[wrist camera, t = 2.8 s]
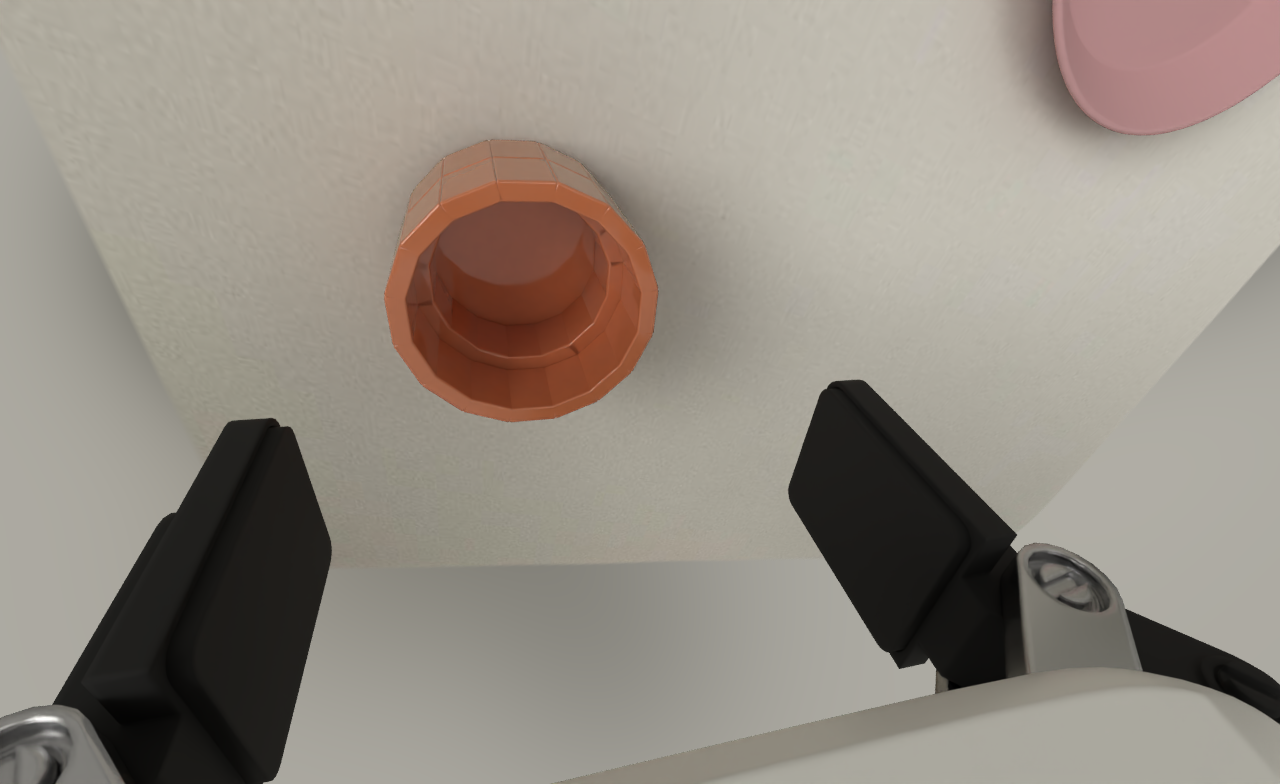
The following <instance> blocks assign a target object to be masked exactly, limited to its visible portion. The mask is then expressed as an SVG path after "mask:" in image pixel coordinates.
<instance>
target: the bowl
mask: <svg viewBox="0 0 1280 784" xmlns="http://www.w3.org/2000/svg"><path fill="white" fill-rule="evenodd" d="M384 295H385V296H384V301H385V306H386V311H387V317H388V322H389V327H390V333H391V338H392V343H393V345H394V348H395V349H396V351H397V352H398V353H399V355H400V356H401V357H402V359H403V360H404V362H405V363H406V364H407V366H408V367H409V369H410V370H411V371H412V373H413V374H414V375H415V377H416V378H417V380H418V381H419V382H420V384H421V385H423V387H425V388H426V389H428V390H429V391H431V392H433V393H434V394H436V395H437V396H439V397H441V398H442V399H444V400H445V401H447V402H448V403H450V404H452V405H453V406H455V407H456V408H458V409H460V410H461V411H464V412H467V413H471V414H475V415H480V416H484V417H488V418H493V419H497V420H501V421H506V422H509V421H510V422H519V421H531V420H543V419H554V418H555V417H556V418H558V417H561V416H563V415H566V414H568V413H570V412H573V411H575V410H578V409H580V408H583V407H585V406H587V405H590V404H592V403H595V402H597V400H600V399H601V398H602V397H603V396H605V395H606V394H607V393H608V392H609V391H610V390H612V389H613V388H614V387H615V386H616V385H617V384H619V383H620V382H621V381H622V380H623V379H624V378H626V377H627V376H628V375H629V374H630V373H631V371H633V369H634V367H635V366H636V364H637V362H638V360H639V358H640V357H641V355H642V353H643V351H644V349H645V348H646V346H647V344H648V342H649V341H650V339H651V337H652V333H653V332H654V324H655V315H656V307H657V298H658V285H657V282H656V279H655V276H654V272H653V269H652V266H651V263H650V259H649V256H648V253H647V250H646V247H645V245H644V243H643V241H642V240H641V238H640V237H639V236H638V234H637V233H636V231H635V230H634V229H633V227H632V226H631V225H630V223H629V222H628V220H627V219H626V218H625V216H624V215H623V213H622V212H621V211H620V209H619V208H618V207H617V205H616V204H615V202H614V201H613V200H612V198H611V197H610V195H609V194H608V193H607V192H606V191H605V189H604V188H603V187H602V186H601V185H600V184H599V183H598V182H597V180H596V179H595V178H594V177H593V176H592V175H591V174H590V172H589V171H588V170H587V169H586V168H585V167H584V166H583V164H581V163H579V162H578V161H577V160H575V159H573V158H571V157H569V156H567V155H564V154H562V153H560V152H558V151H556V150H554V149H552V148H550V147H548V146H546V145H544V144H542V143H538V144H537V142H535V141H513V140H490V141H488V140H486V141H483V142H481V143H478V144H476V145H473V146H471V147H468V148H466V149H463V150H460V151H458V152H455V153H453V154H450V155H448V156H446V157H445V159H442V160H441V161H440V162H439V163H438V164H437V165H436V166H435V167H434V168H433V169H432V170H431V171H430V172H429V174H428V175H427V176H426V177H425V178H424V179H423V180H422V181H421V182H420V183H419V184H418V185H417V187H416V188H415V189H414V190H413V193H412V194H411V196H410V199H409V202H408V206H407V209H406V212H405V216H404V219H403V223H402V226H401V229H400V233H399V237H398V241H397V245H396V249H395V253H394V257H393V261H392V265H391V268H390V272H389V276H388V280H387V284H386V288H385V292H384Z"/></svg>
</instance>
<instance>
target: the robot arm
mask: <svg viewBox="0 0 1280 784" xmlns="http://www.w3.org/2000/svg"><path fill="white" fill-rule="evenodd" d="M788 494H789V499H790V502H791V504H792V506H793V508H794V509H795V511H796V512H797V514H798V516H799V517H800V519H801V521H802V522H803V524H804V525H805V527H806V529H807V530H808V532H809V534H810V535H811V537H812V538H813V540H814V542H815V543H816V545H817V547H818V548H819V550H820V552H821V553H822V555H823V556H824V558H825V560H826V561H827V563H828V564H829V566H830V568H831V569H832V571H833V573H834V574H835V576H836V578H837V579H838V581H839V582H840V584H841V586H842V587H843V589H844V591H845V592H846V594H847V595H848V597H849V599H850V600H851V602H852V604H853V605H854V607H855V608H856V610H857V612H858V613H859V615H860V617H861V618H862V620H863V621H864V623H865V625H866V626H867V628H868V629H869V631H870V633H871V634H872V636H873V638H874V639H875V641H876V643H877V644H878V645H879V646H880V648H881V649H882V650H884V651H886V652H889V653H890V655H891V656H892V658H893V659H894V661H895V663H896V664H897V666H898V668H899V669H901V668H905V667H910V666H915V665H919V664H924V663H925V662H926V661H927V660H928V658H929V659H930V660H931V662H932V663H933V665H934V666H935V668H936V688H935V694H933V695H928V696H924V697H920V698H915V699H911V700H907V701H903V702H898V703H893V704H889V705H885V706H881V707H876V708H872V709H868V710H863V711H859V712H854V713H850V714H845V715H841V716H837V717H832V718H828V719H824V720H819V721H815V722H811V723H807V724H802V725H798V726H793V727H789V728H785V729H781V730H776V731H772V732H768V733H764V734H759V735H755V736H751V737H747V738H742V739H738V740H734V741H729V742H725V743H721V744H717V745H713V746H709V747H704V748H700V749H696V750H692V751H687V752H683V753H679V754H674V755H670V756H666V757H662V758H657V759H653V760H650V761H645V762H641V763H636V764H632V765H628V766H623V767H619V768H615V769H611V770H606V771H602V772H599V773H594V774H590V775H586V776H581V777H577V778H573V779H570V780H565V781H561V782H557V783H552V784H1280V685H1279V684H1278V683H1277V682H1276V681H1275V680H1274V679H1273V678H1271V677H1270V676H1269V675H1267V674H1266V673H1264V672H1263V671H1261V670H1259V669H1258V668H1256V667H1254V666H1252V665H1251V664H1249V663H1247V662H1245V661H1243V660H1241V659H1239V658H1237V657H1235V656H1233V655H1231V654H1229V653H1227V652H1224V651H1222V650H1220V649H1217V648H1215V647H1213V646H1210V645H1208V644H1206V643H1203V642H1201V641H1199V640H1196V639H1194V638H1192V637H1190V636H1187V635H1185V634H1183V633H1180V632H1178V631H1176V630H1173V629H1171V628H1169V627H1166V626H1164V625H1162V624H1159V623H1157V622H1155V621H1152V620H1150V619H1148V618H1145V617H1143V616H1141V615H1139V614H1136V613H1134V612H1132V611H1129V610H1127V609H1125V607H1124V604H1123V600H1122V598H1121V596H1120V594H1119V592H1118V590H1117V588H1116V587H1115V586H1114V584H1113V583H1112V582H1111V581H1110V580H1109V578H1108V577H1107V576H1106V575H1105V574H1104V573H1102V572H1101V571H1100V570H1099V569H1098V568H1097V567H1095V566H1094V565H1093V564H1092V563H1090V562H1088V561H1087V560H1085V559H1084V558H1082V557H1080V556H1079V555H1077V554H1075V553H1073V552H1070V551H1068V550H1066V549H1064V548H1061V547H1057V546H1053V545H1050V544H1043V543H1033V544H1029V545H1025V546H1024V547H1023V548H1022V549H1021V550H1020V551H1019V552H1018V553H1016V551H1015V550H1014V549H1013V548H1012V547H1011V546H1010V544H1011V543H1012V541H1013V540H1014V539H1015V537H1016V536H1017V534H1016V533H1015V532H1014V531H1013V530H1012V529H1011V528H1010V527H1009V526H1008V525H1007V524H1006V523H1005V522H1004V521H1003V520H1002V519H1001V518H1000V517H999V516H998V515H997V514H996V513H995V512H994V511H993V510H992V509H991V508H990V507H989V506H988V505H987V504H986V503H985V502H984V501H983V500H982V499H981V498H980V497H979V496H978V495H977V494H976V493H975V492H974V491H973V490H972V489H971V488H970V487H969V486H968V485H967V484H966V483H965V482H964V481H963V480H962V479H961V478H960V477H959V476H958V475H957V474H956V473H955V472H954V471H953V470H952V469H951V468H950V467H949V466H948V464H947V463H946V462H945V461H944V460H943V459H942V458H941V457H940V456H939V455H938V454H937V453H936V452H935V451H934V450H933V449H932V448H931V447H930V446H929V445H928V444H927V443H926V442H925V441H924V440H923V439H922V438H921V437H920V436H919V435H918V434H917V433H916V432H915V431H914V430H913V429H912V428H911V427H910V426H909V425H908V424H907V423H906V422H905V421H904V420H903V419H902V418H901V417H900V416H899V415H898V414H897V413H896V412H895V411H894V410H893V409H892V408H891V407H890V406H889V405H888V404H887V403H886V402H885V401H884V400H883V399H882V398H881V397H880V396H879V395H878V394H877V393H876V392H875V391H874V390H873V389H872V388H871V387H870V386H869V385H868V384H867V383H866V382H864V381H863V380H846V381H835V382H832V383H831V384H830V385H829V386H828V387H827V389H825V390H823V391H822V392H821V394H820V396H819V399H818V402H817V405H816V408H815V411H814V414H813V417H812V420H811V423H810V426H809V428H808V431H807V434H806V437H805V440H804V443H803V446H802V449H801V452H800V455H799V458H798V461H797V464H796V466H795V469H794V472H793V475H792V478H791V481H790V484H789V488H788ZM331 555H332V547H331V540H330V537H329V534H328V531H327V528H326V525H325V522H324V519H323V516H322V513H321V510H320V507H319V505H318V502H317V499H316V496H315V493H314V490H313V487H312V484H311V481H310V478H309V475H308V472H307V469H306V466H305V464H304V461H303V458H302V455H301V452H300V449H299V446H298V443H297V440H296V437H295V434H294V432H293V430H292V429H291V427H288V426H286V427H280V425H279V423H278V422H277V421H276V419H273V418H267V419H251V420H236V421H231V422H228V423H227V425H226V426H225V427H224V429H223V431H222V433H221V434H220V436H219V438H218V440H217V441H216V443H215V445H214V447H213V449H212V450H211V452H210V454H209V456H208V457H207V459H206V461H205V463H204V465H203V466H202V468H201V470H200V472H199V474H198V475H197V477H196V479H195V481H194V482H193V484H192V486H191V488H190V490H189V491H188V493H187V495H186V497H185V498H184V500H183V502H182V504H181V505H180V507H179V509H178V511H177V512H176V513H171V514H169V515H167V516H166V517H164V518H163V519H162V521H161V522H160V523H159V524H158V526H157V527H156V528H155V530H154V532H153V534H152V536H151V537H150V539H149V540H148V542H147V544H146V546H145V547H144V549H143V551H142V552H141V554H140V556H139V558H138V559H137V561H136V563H135V564H134V566H133V568H132V570H131V571H130V573H129V575H128V576H127V578H126V580H125V581H124V583H123V585H122V587H121V588H120V590H119V592H118V593H117V595H116V597H115V598H114V600H113V602H112V604H111V605H110V607H109V609H108V611H107V612H106V614H105V616H104V617H103V619H102V621H101V623H100V624H99V626H98V628H97V629H96V631H95V633H94V634H93V636H92V638H91V640H90V641H89V643H88V645H87V646H86V648H85V650H84V652H83V653H82V655H81V657H80V658H79V660H78V662H77V664H76V665H75V667H74V668H73V670H72V672H71V674H70V676H69V677H68V679H67V680H66V682H65V684H64V686H63V687H62V689H61V691H60V692H59V694H58V696H57V698H56V699H55V701H54V703H53V704H52V705H48V706H38V707H32V708H28V709H25V710H22V711H19V712H16V713H13V714H10V715H6V716H4V717H2V718H0V784H263V782H269V781H272V780H273V779H274V778H275V777H276V775H277V773H278V771H279V767H280V764H281V760H282V756H283V752H284V748H285V744H286V740H287V736H288V732H289V728H290V724H291V720H292V716H293V712H294V708H295V704H296V700H297V696H298V692H299V688H300V683H301V680H302V676H303V671H304V667H305V663H306V659H307V655H308V651H309V647H310V643H311V639H312V635H313V631H314V627H315V623H316V619H317V615H318V611H319V606H320V603H321V599H322V595H323V591H324V586H325V583H326V578H327V574H328V571H329V566H330V562H331Z"/></svg>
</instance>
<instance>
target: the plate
mask: <svg viewBox="0 0 1280 784" xmlns="http://www.w3.org/2000/svg"><path fill="white" fill-rule="evenodd" d="M1052 18H1053V35H1054V43H1055V50H1056V55H1057V60H1058V64H1059V68H1060V71H1061V74H1062V77H1063V80H1064V82H1065V84H1066V87H1067V89H1068V91H1069V93H1070V94H1071V96H1072V98H1073V99H1074V101H1075V102H1076V104H1077V105H1078V106H1079V107H1080V109H1081V110H1082V111H1083V112H1084V113H1085V114H1086V115H1087V116H1088V117H1090V118H1091V119H1092V120H1093V121H1095V122H1096V123H1098V124H1099V125H1101V126H1103V127H1105V128H1107V129H1110V130H1112V131H1116V132H1119V133H1123V134H1129V135H1155V134H1162V133H1168V132H1172V131H1176V130H1180V129H1183V128H1186V127H1189V126H1192V125H1195V124H1197V123H1200V122H1202V121H1204V120H1207V119H1209V118H1211V117H1213V116H1215V115H1217V114H1219V113H1221V112H1223V111H1225V110H1227V109H1229V108H1230V107H1232V106H1234V105H1236V104H1237V103H1239V102H1241V101H1242V100H1244V99H1245V98H1247V97H1248V96H1250V95H1252V94H1253V93H1255V92H1256V91H1257V90H1259V89H1260V88H1262V87H1263V86H1265V85H1266V84H1267V83H1269V82H1270V81H1271V80H1273V79H1274V78H1275V77H1277V76H1278V75H1279V74H1280V0H1053V3H1052Z"/></svg>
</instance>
